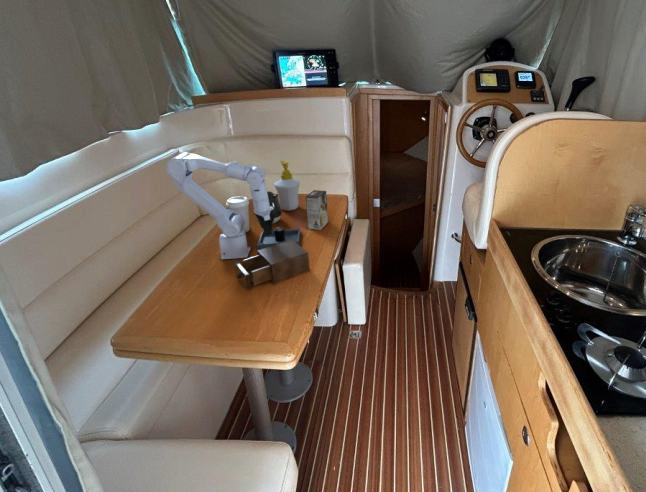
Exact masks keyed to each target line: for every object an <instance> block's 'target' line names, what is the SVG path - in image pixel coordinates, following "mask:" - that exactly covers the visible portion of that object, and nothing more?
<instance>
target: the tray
mask: <svg viewBox="0 0 646 492" xmlns="http://www.w3.org/2000/svg"><path fill="white" fill-rule="evenodd" d="M284 234H285V240H284V241H280V242H278V241H275V233H274V230H272V234H270V235H266V234H265V232H264V231H261V233H260V236H259V239H258V242H257V249H258V250H261V249H264V248H267V247H271V246H274V245H277V244H280V243H283V242H287V241H290V240H293V241H294V242H296V243H297V244H298V245H300V240H301V229H300V228H297V229H296V228H295V229H294V228H293V229H284Z"/></svg>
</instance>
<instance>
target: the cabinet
mask: <svg viewBox="0 0 646 492" xmlns="http://www.w3.org/2000/svg"><path fill="white" fill-rule="evenodd" d="M257 255H261V256H262V257H263V258H264V259H265V260H266V261H267V262H268V263H269V264H270V265H271V270H272V278H273V279H271V280H270V281H271V282H272V283H273V284H274V285H275V284H277V283H280V282H282V281H285V280H288V279H291V278H293V277H296V276H298V275H301V274H303V273H306V272H308V271H310V260H309V259H310V258H309V251H307V250H306V249H305V248H304V247H303V246H301V245H300V244H299V245H298V244H297V243H296V242H294V241H293V240H290V241H287V242H283V243H280V244H277V245H274V246H271V247H267V248H263V249H258V250H257Z"/></svg>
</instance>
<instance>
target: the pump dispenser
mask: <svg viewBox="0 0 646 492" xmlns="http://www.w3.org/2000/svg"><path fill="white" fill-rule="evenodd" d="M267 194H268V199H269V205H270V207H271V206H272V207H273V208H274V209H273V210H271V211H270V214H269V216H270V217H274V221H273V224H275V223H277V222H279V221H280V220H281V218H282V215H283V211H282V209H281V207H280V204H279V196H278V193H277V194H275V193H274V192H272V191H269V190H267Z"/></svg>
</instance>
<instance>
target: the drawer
mask: <svg viewBox="0 0 646 492" xmlns="http://www.w3.org/2000/svg"><path fill="white" fill-rule="evenodd" d="M233 267H234V273H235V277H236V279H237V280H238V281H240V283H241V284H242V285H243V287H244V288H245V289H246V290H247V291H249V290H252V285H253V287H254V286H257V285H260V284H263V283H265V282H269V281H271V279H273V278H272V270H271V265H270V264H269V263H268V262H267V261H266V260H265V259H264V258H263V257H262V256H261V255H258V254H257V255H253V256H250V257H246V258H243V259H242V260H241V263H240V261H238V260H233ZM251 284H252V285H251Z"/></svg>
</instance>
